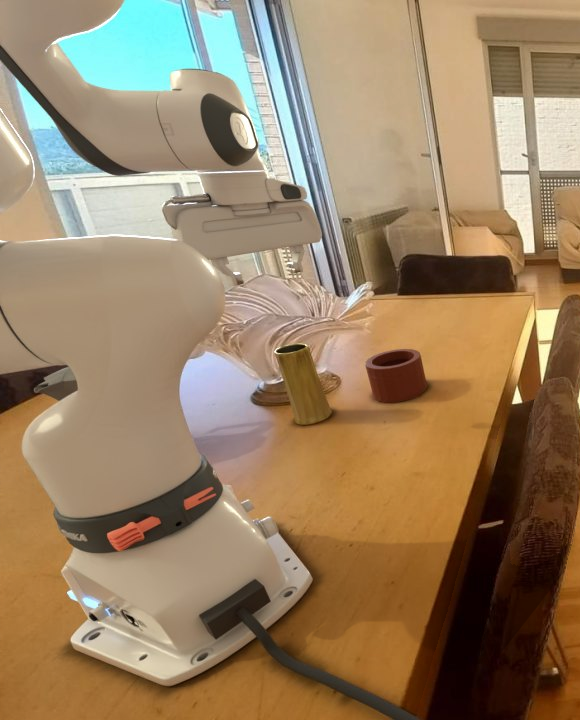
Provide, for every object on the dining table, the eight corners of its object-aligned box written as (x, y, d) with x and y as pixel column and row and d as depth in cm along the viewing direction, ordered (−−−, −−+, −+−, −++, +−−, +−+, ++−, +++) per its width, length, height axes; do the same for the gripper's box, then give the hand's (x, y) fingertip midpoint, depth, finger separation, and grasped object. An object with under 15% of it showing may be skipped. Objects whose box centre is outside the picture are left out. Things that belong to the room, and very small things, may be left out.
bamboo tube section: (315, 426, 87) (291, 355, 82) (287, 424, 88) (262, 353, 83) (339, 410, 93) (318, 342, 87) (312, 408, 94) (290, 341, 88)
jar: (437, 385, 102) (431, 353, 99) (396, 406, 93) (388, 372, 91) (404, 377, 106) (397, 346, 103) (362, 396, 98) (353, 363, 95)
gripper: (167, 197, 65) (204, 295, 70) (315, 187, 81) (336, 267, 87) (146, 196, 67) (184, 291, 73) (293, 187, 84) (315, 265, 89)
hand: (268, 278), depth 80 cm, fingers open, 8 cm apart
